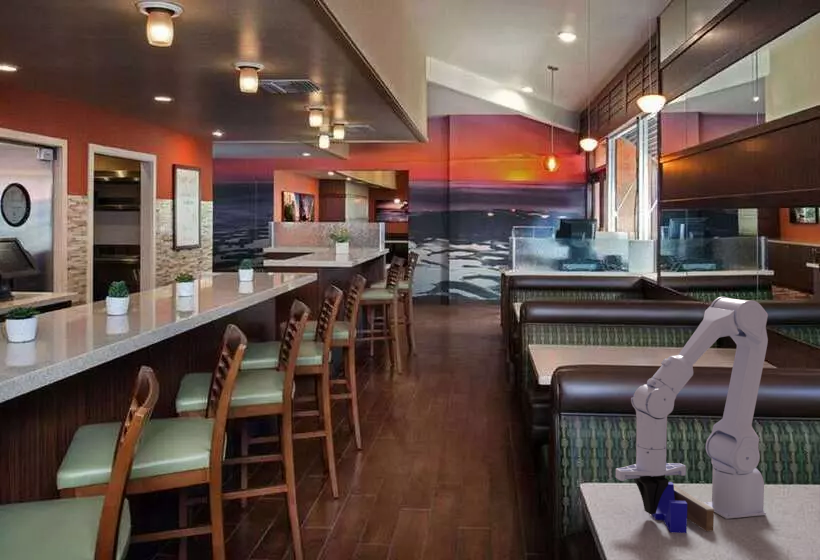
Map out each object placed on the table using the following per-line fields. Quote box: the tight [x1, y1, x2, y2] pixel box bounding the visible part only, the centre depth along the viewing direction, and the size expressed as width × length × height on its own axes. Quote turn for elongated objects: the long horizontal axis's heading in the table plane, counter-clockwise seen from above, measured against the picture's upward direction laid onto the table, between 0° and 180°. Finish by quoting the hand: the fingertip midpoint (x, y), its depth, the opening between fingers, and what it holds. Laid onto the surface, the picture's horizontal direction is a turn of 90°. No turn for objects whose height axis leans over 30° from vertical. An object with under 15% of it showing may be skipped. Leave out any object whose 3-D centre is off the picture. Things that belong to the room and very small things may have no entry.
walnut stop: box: [674, 485, 715, 532], centre depth 146 cm, size 2×16×4 cm, turn 13°
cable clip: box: [652, 481, 688, 534], centre depth 144 cm, size 12×4×6 cm, turn 173°
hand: (650, 512), depth 145 cm, fingers closed
